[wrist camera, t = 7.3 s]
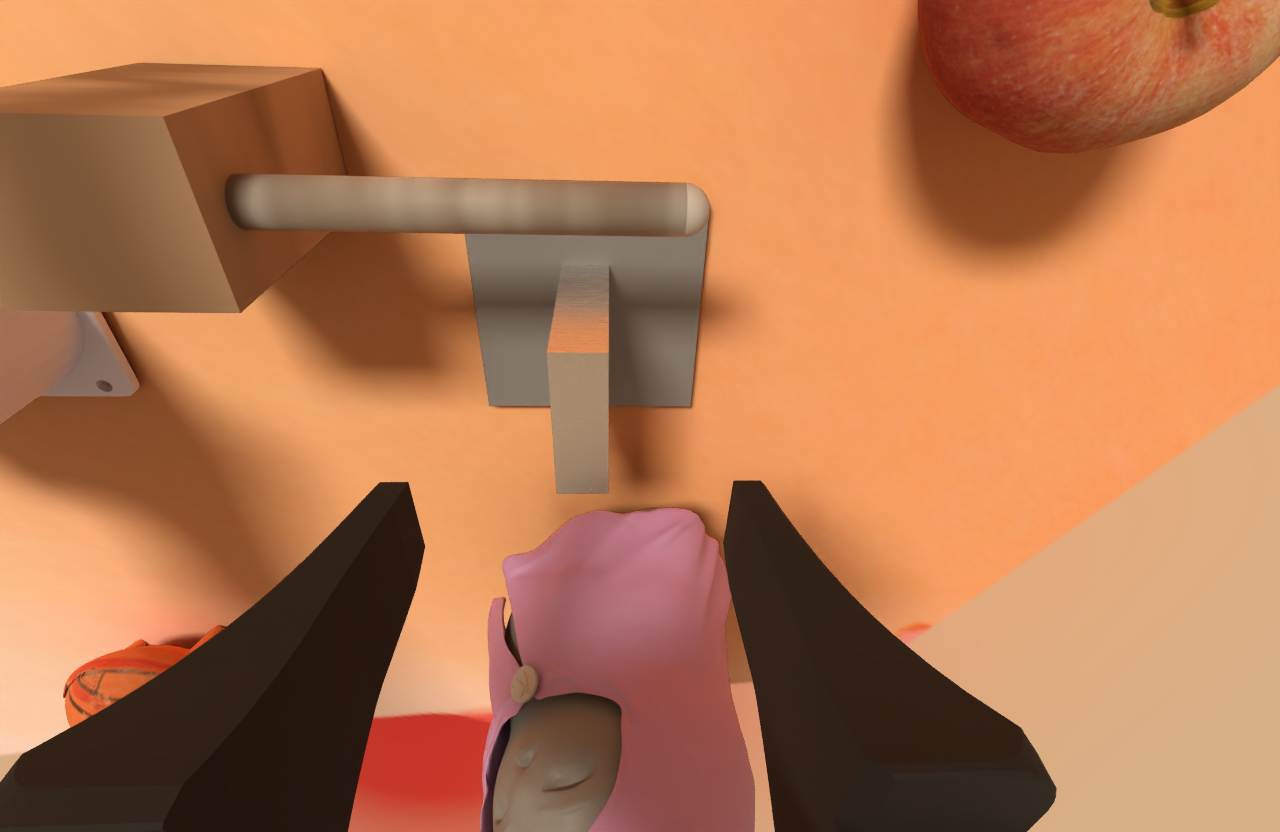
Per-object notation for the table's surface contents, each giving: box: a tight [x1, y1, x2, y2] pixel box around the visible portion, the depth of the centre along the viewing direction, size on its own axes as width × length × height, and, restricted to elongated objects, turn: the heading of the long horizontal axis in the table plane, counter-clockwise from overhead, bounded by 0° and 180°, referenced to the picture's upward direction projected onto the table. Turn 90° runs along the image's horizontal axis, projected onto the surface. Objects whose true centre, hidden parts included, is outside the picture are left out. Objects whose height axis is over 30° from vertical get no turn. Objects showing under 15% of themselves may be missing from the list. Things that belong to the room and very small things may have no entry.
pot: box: [63, 626, 225, 727], centre depth 31 cm, size 8×8×7 cm
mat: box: [465, 203, 710, 406], centre depth 22 cm, size 8×8×1 cm
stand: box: [0, 63, 710, 313], centre depth 15 cm, size 16×4×8 cm, turn 88°
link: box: [547, 264, 609, 494], centre depth 20 cm, size 2×5×6 cm, turn 179°
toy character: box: [480, 508, 755, 832], centre depth 21 cm, size 12×10×20 cm
